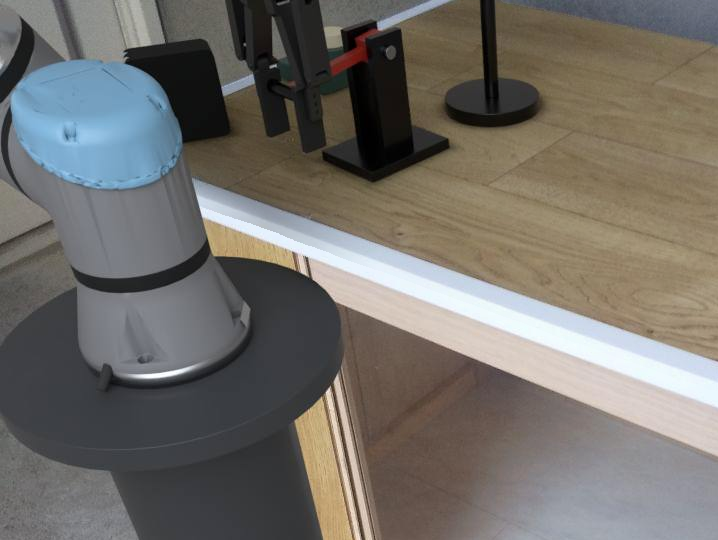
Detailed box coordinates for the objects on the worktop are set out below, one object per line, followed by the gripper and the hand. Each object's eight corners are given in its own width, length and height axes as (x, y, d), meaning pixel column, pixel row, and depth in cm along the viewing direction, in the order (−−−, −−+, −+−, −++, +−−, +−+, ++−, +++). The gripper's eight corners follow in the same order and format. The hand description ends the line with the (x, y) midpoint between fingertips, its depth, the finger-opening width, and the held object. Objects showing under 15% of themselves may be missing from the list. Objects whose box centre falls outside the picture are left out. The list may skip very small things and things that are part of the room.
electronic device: (232, 134, 121) (212, 48, 114) (148, 148, 119) (122, 61, 112) (227, 122, 124) (207, 37, 117) (145, 135, 121) (119, 49, 114)
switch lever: (302, 112, 102) (296, 89, 100) (270, 99, 105) (263, 77, 103) (401, 58, 108) (396, 35, 106) (368, 47, 111) (363, 25, 109)
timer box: (325, 95, 130) (319, 63, 127) (278, 77, 135) (272, 46, 132) (393, 69, 136) (389, 38, 133) (346, 53, 141) (341, 22, 138)
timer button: (329, 52, 131) (327, 38, 129) (310, 46, 133) (308, 32, 131) (352, 44, 133) (350, 30, 132) (333, 38, 135) (331, 24, 133)
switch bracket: (373, 182, 111) (355, 53, 101) (322, 160, 115) (300, 34, 106) (449, 148, 117) (439, 23, 108) (398, 128, 122) (384, 6, 112)
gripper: (347, -105, 88) (379, 153, 104) (224, -133, 96) (272, 108, 113) (279, -89, 84) (324, 177, 100) (157, -120, 93) (217, 129, 109)
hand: (296, 140), depth 106 cm, fingers closed on switch lever, 5 cm apart
